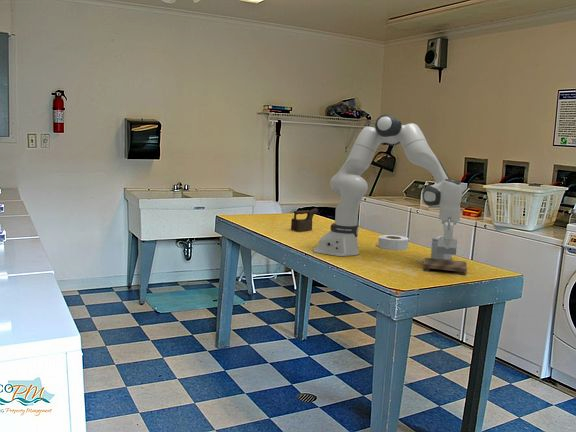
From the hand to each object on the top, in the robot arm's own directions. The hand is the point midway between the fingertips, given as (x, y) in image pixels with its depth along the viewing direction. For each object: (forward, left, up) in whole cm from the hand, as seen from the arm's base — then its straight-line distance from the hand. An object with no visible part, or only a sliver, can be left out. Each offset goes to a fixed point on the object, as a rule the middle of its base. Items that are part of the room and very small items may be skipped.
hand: (447, 247), depth 237 cm
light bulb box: (-2, +21, -10) cm, 23 cm away
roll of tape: (-27, +39, -11) cm, 49 cm away
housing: (0, 0, -3) cm, 3 cm away
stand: (0, 0, -10) cm, 10 cm away
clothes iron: (-83, +64, -10) cm, 105 cm away
